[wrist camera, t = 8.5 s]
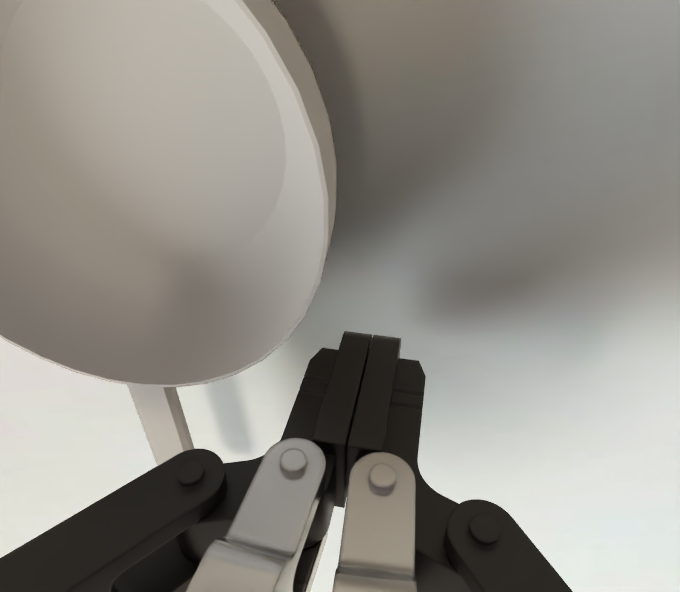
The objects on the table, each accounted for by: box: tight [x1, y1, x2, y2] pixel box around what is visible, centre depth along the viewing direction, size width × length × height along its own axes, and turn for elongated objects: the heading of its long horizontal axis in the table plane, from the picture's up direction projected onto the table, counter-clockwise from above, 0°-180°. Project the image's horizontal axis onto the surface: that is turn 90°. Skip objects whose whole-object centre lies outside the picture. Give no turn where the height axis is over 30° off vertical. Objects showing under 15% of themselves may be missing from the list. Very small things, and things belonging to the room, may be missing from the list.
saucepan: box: [0, 0, 336, 466], centre depth 14 cm, size 11×18×4 cm, turn 4°
